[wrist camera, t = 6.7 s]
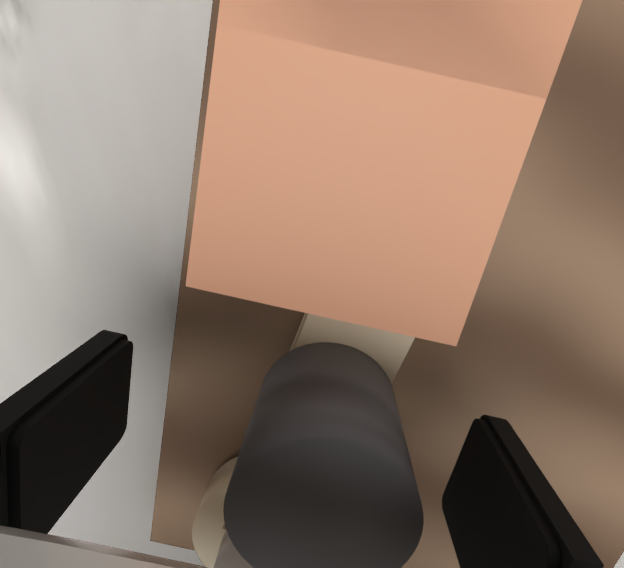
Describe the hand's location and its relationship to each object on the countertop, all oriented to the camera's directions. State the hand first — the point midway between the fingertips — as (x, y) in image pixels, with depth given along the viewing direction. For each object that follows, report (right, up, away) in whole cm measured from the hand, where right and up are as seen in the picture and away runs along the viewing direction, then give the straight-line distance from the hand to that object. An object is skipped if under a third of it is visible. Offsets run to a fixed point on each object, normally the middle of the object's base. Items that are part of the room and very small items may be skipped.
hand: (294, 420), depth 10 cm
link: (+1, -1, +3) cm, 3 cm away
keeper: (+2, +8, +1) cm, 8 cm away
